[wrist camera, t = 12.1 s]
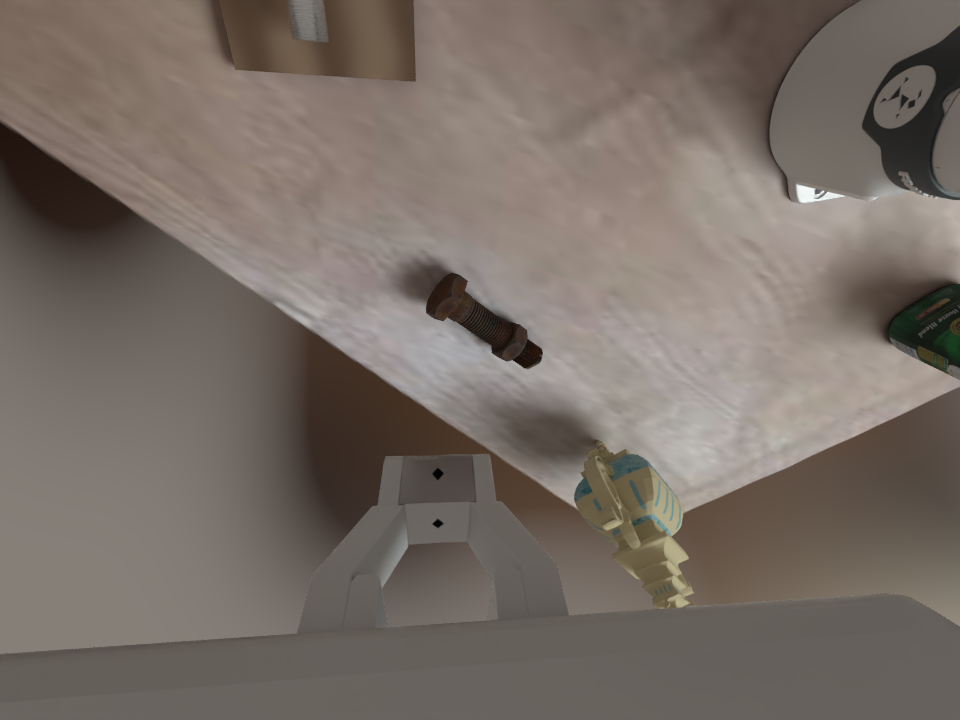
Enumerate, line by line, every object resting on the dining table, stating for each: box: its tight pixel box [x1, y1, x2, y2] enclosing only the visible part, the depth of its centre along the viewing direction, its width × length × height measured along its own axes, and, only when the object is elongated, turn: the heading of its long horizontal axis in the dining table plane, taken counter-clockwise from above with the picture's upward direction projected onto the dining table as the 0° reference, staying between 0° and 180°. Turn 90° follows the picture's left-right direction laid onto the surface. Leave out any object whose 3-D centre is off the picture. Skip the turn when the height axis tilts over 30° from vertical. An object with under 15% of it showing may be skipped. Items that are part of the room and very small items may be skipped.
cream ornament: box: [574, 441, 696, 609], centre depth 51 cm, size 24×12×30 cm, turn 38°
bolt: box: [426, 273, 543, 369], centre depth 47 cm, size 6×5×15 cm
